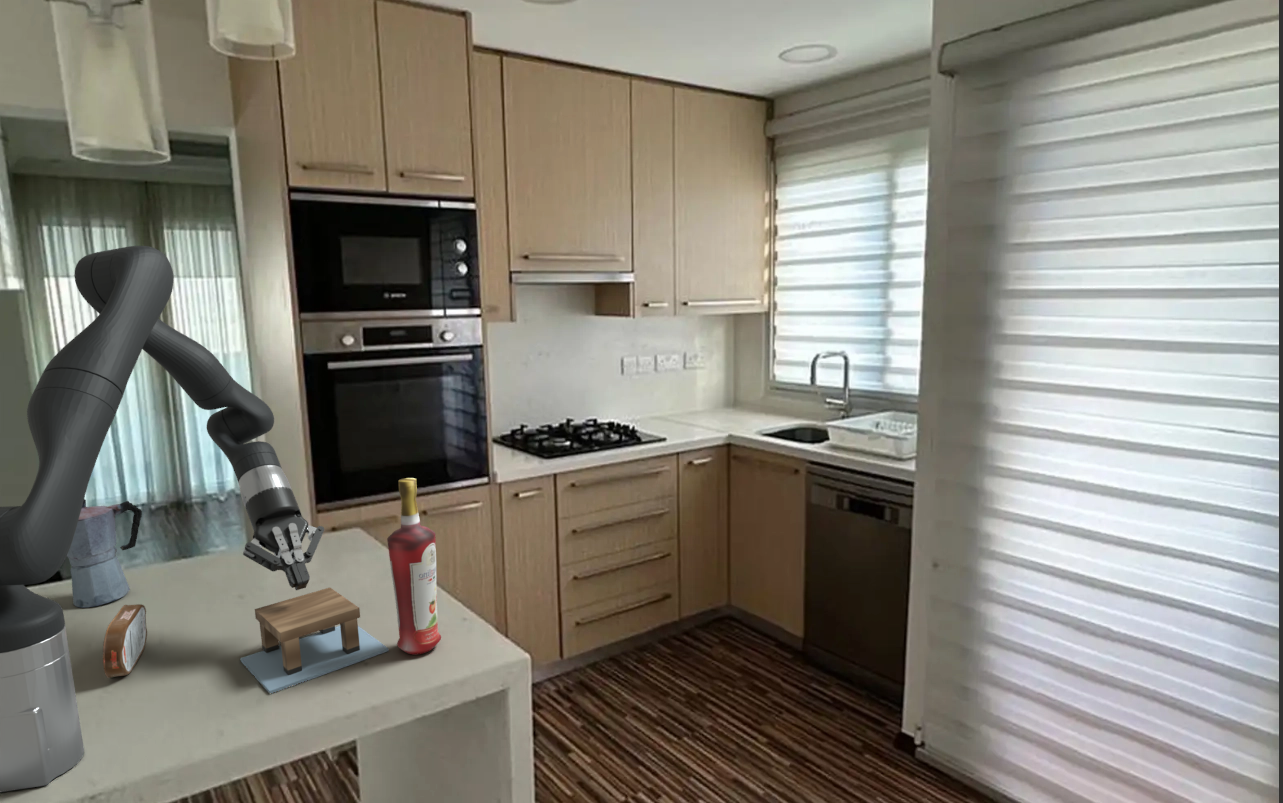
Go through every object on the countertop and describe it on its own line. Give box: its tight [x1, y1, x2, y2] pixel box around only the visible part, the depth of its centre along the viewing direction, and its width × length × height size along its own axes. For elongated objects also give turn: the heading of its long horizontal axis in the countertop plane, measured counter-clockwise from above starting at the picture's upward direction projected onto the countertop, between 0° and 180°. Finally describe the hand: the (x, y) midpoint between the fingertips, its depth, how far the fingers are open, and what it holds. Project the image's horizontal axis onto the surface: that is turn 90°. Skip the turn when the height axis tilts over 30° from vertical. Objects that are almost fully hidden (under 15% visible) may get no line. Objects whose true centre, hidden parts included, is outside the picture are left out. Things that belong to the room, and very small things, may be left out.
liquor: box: [386, 477, 442, 656], centre depth 120 cm, size 7×7×28 cm
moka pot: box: [66, 498, 143, 609], centre depth 144 cm, size 10×15×20 cm, turn 132°
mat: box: [240, 625, 389, 694], centre depth 120 cm, size 14×18×1 cm
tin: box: [102, 603, 148, 679], centre depth 119 cm, size 15×3×8 cm, turn 21°
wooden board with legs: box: [254, 587, 361, 675], centre depth 121 cm, size 7×12×12 cm
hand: (302, 586), depth 120 cm, fingers closed
